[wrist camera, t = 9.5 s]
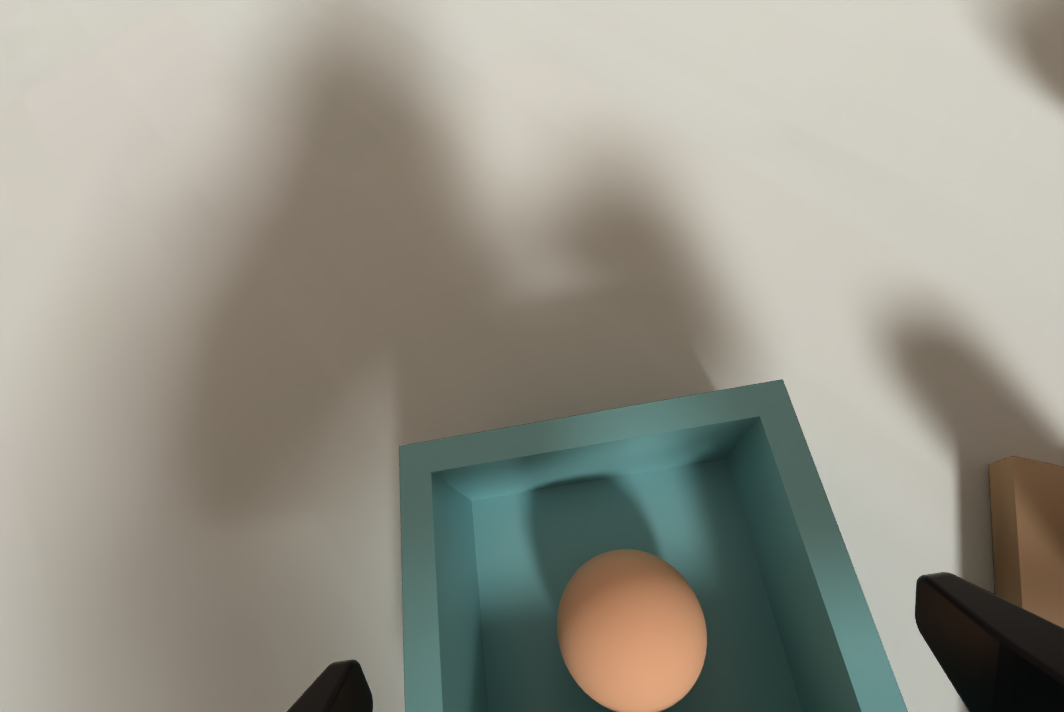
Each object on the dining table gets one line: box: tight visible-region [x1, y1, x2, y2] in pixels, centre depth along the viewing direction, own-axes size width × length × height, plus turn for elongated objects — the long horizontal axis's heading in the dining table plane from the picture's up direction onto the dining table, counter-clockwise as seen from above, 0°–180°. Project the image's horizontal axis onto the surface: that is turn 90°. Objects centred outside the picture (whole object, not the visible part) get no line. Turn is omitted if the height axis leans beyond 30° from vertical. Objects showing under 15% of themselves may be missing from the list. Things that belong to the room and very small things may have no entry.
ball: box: [557, 549, 707, 712], centre depth 13 cm, size 4×4×4 cm
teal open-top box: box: [399, 379, 908, 712], centre depth 13 cm, size 10×10×4 cm
